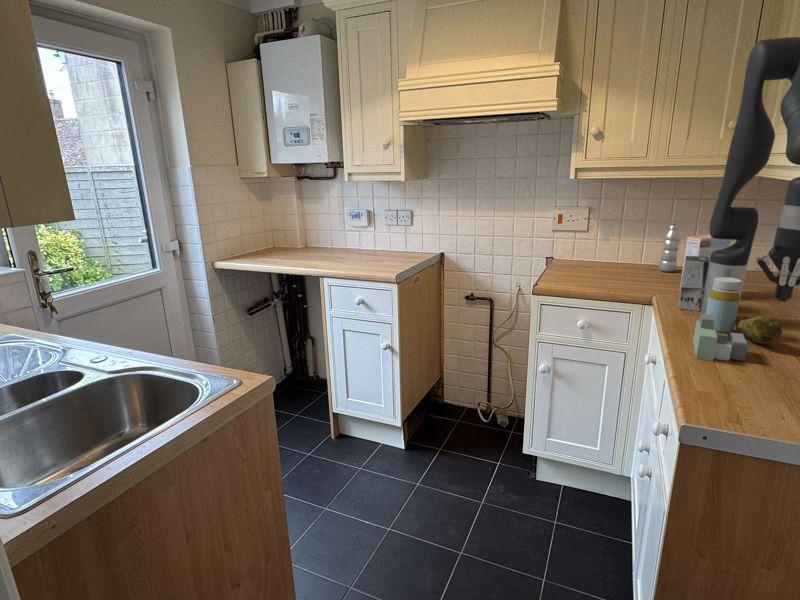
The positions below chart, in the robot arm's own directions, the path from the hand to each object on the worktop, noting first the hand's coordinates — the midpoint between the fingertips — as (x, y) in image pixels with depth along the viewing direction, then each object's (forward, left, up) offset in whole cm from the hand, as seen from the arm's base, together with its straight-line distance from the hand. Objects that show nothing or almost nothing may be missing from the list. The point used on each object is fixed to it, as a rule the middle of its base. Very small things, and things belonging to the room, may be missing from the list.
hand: (781, 300), depth 109 cm
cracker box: (-60, -11, -15) cm, 63 cm away
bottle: (-18, -9, -15) cm, 25 cm away
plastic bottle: (-94, -21, -15) cm, 97 cm away
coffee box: (-41, -15, -15) cm, 46 cm away
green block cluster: (0, -11, -15) cm, 19 cm away
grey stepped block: (0, -8, -15) cm, 17 cm away
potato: (-12, -1, -15) cm, 19 cm away
